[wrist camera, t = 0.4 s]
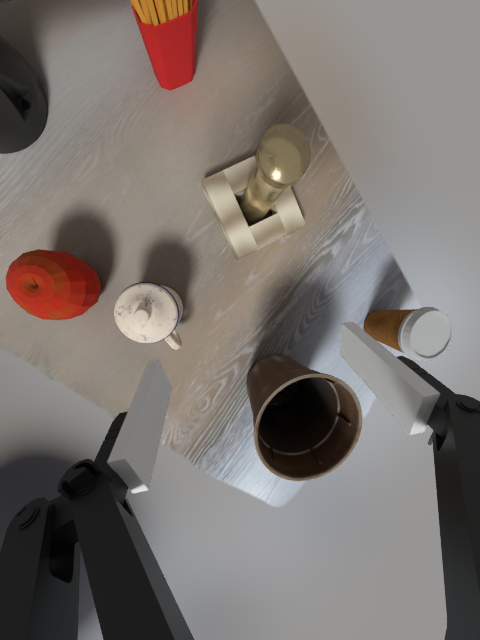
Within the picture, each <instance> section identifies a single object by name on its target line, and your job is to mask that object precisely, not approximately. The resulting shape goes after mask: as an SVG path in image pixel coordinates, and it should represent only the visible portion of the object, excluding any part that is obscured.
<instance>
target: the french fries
mask: <svg viewBox="0 0 480 640" xmlns="http://www.w3.org/2000/svg"><path fill="white" fill-rule="evenodd" d="M130 1H131V3H132V9H133V12H134V15H135V17H136V20H137V23H138V26H139V29H140V32H141V35H142V38H143V41H144V44H145V47H146V49H147V52H148V55H149V58H150V61H151V64H152V67H153V70H154V73H155V75H156V77H157V80H158V82H159V84H160V86H161V87H162V88H165V89H168V90H173V89H175V88H178V87H180V86H182V85H185V84H187V83H189V82H191V81H192V79H193V76H194V74H195V61H196V34H197V6H198V0H130Z"/></svg>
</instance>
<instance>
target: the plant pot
mask: <svg viewBox="0 0 480 640" xmlns="http://www.w3.org/2000/svg"><path fill="white" fill-rule="evenodd" d="M296 381H297V384H295V382H296ZM247 392H248V396H249V399H250V403H251V408H252V412H253V424H254V443H255V448H256V451H257V454H258V456H259V458H260V460H261V461H262V463H263V464H264V465H265V466H266V468H267V469H269V470H270V471H271V472H272V473H274V474H275V475H277V476H279V477H281V478H284V479H287V480H291V481H306V480H311V479H315V478H318V477H321V476H324V475H326V474H328V473H330V472H331V471H333V470H334V469H335V468H337V467H338V466H339V465H341V464H342V463H343V462H344V461H345V460H346V458H347V457H348V456H349V455H350V453H351V452H352V451H353V449H354V447H355V445H356V443H357V441H358V439H359V436H360V432H361V428H362V410H361V406H360V403H359V400H358V398H357V396H356V394H355V393H354V391H353V390H352V389H351V388H350V387H349V386H348V385H347V384H346V383H345V382H343V381H342V380H340V379H338V378H336V377H334V376H331V375H328V374H323V373H320V372H317V371H314V370H310V369H308V368H306V367H304V366H302V365H301V364H299V363H297V362H295V361H293V360H291V359H290V358H288V357H285V356H282V355H272V356H268V357H265V358H263V359H261V360H259V361H258V362H257V363H256V364H255V366H254V367H253V368H252V370H251V371H250V372H249V374H248V377H247ZM279 401H282V403H280V404H277V405H271V404H272V403H277V402H279Z"/></svg>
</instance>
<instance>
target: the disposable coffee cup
mask: <svg viewBox="0 0 480 640" xmlns="http://www.w3.org/2000/svg"><path fill="white" fill-rule="evenodd" d="M364 331H365V332H366V333H367V334H369V335H370V336H371V337H372V338H373V339H375V340H377V341H379V342H381V343H383V344H385V345H388V346H390V347H392V348H394V349H396V350H398V351H400V352H403V353H404V354H406V355H407V356H408V357H409V358H411V359H413V360H417V361H424V360H426V361H427V360H434V359H437V358H439V357H440V356H442V355H443V353H445V352H446V351H447V349H448V348H449V346H450V344H451V342H452V339H453V334H454V328H453V324H452V321H451V319H450V318H449V316H448V315H447V314H445V313H444V312H441V311H439V310H437V309H435V308H433V307H423V308H420V309H416V310H414V309H413V310H386V311H385V310H384V311H374V312H372V313H370V314H369V315H368V316H367V317H366V319H365V322H364Z"/></svg>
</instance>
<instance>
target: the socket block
mask: <svg viewBox="0 0 480 640" xmlns="http://www.w3.org/2000/svg"><path fill="white" fill-rule="evenodd" d="M255 166H256V155H255V156H253V157H250V158H248V159H246V160H244V161H242V162H240V163H238V164H235V165H233V166H231V167H229V168H227V169H225V170H222V171H220V172H218V173H216V174H214V175H212V176H210V177H207V178H205V179H203V180H202V188H203V191H204V193H205V195H206V197H207V199H208V201H209V203H210V205H211V207H212V209H213V211H214V213H215V215H216V218H217V220H218V222H219V224H220V226H221V228H222V230H223V232H224V234H225V236H226V238H227V240H228V242H229V245H230V247H231V249H232V251H233V253H234V255H235V257H236V259H237V260H238V259H240V258H242V257H244V256H246V255H248V254H250V253H252V252H254V251H256V250H258V249H260V248H262V247H264V246H266V245H268V244H270V243H272V242H274V241H276V240H278V239H280V238H282V237H284V236H286V235H288V234H290V233H292V232H294V231H296V230H298V229H300V228H301V227H303V226H304V225H306V224H305V221H304V219H303V216H302V214H301V211H300V209H299V206H298V204H297V201H296V199H295V196H294V194H293V191H292V189H291V187H289V188H287V189H286V190H285V191H284V193H283V194H282V195H281V196H280V198H279V199H278V200H277V201H276V203H275V204H274V205H273V206H272V208H271V209H270V210H271V212H272V214H273V216H270V217H268V218H266V219H264V220H262V221H260V222H258V223H256V224H254V225H252V226H250V227H248V224H247V222H246V220H245V218H244V216H243V213H242V211H241V209H240V207H239V205H238V202H237V200H236V198H237V197H239V196H241V195H243V194H245V192H246V189H247V187H248V184H249V181H250V179H251V176H252V174H253V171H254V169H255Z"/></svg>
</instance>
